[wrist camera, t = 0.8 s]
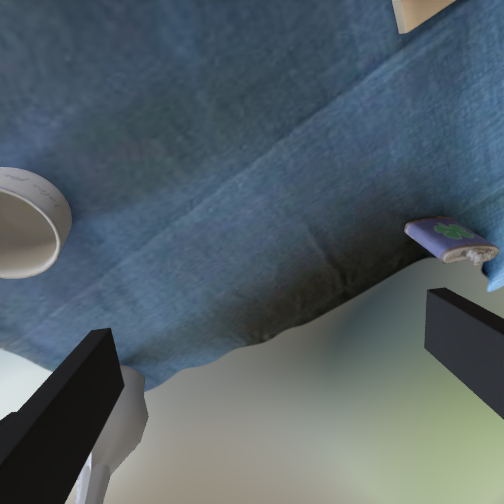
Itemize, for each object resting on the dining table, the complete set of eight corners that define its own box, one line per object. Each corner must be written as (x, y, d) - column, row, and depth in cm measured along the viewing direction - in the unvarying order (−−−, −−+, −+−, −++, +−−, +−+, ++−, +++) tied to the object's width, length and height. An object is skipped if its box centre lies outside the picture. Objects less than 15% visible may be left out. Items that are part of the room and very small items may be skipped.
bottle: (86, 339, 48) (-17, 633, 24) (158, 346, 52) (134, 606, 27) (80, 383, 54) (-10, 663, 29) (146, 386, 57) (117, 637, 32)
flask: (401, 234, 49) (449, 272, 40) (407, 217, 47) (458, 254, 39) (450, 231, 51) (507, 267, 42) (457, 215, 49) (518, 249, 40)
